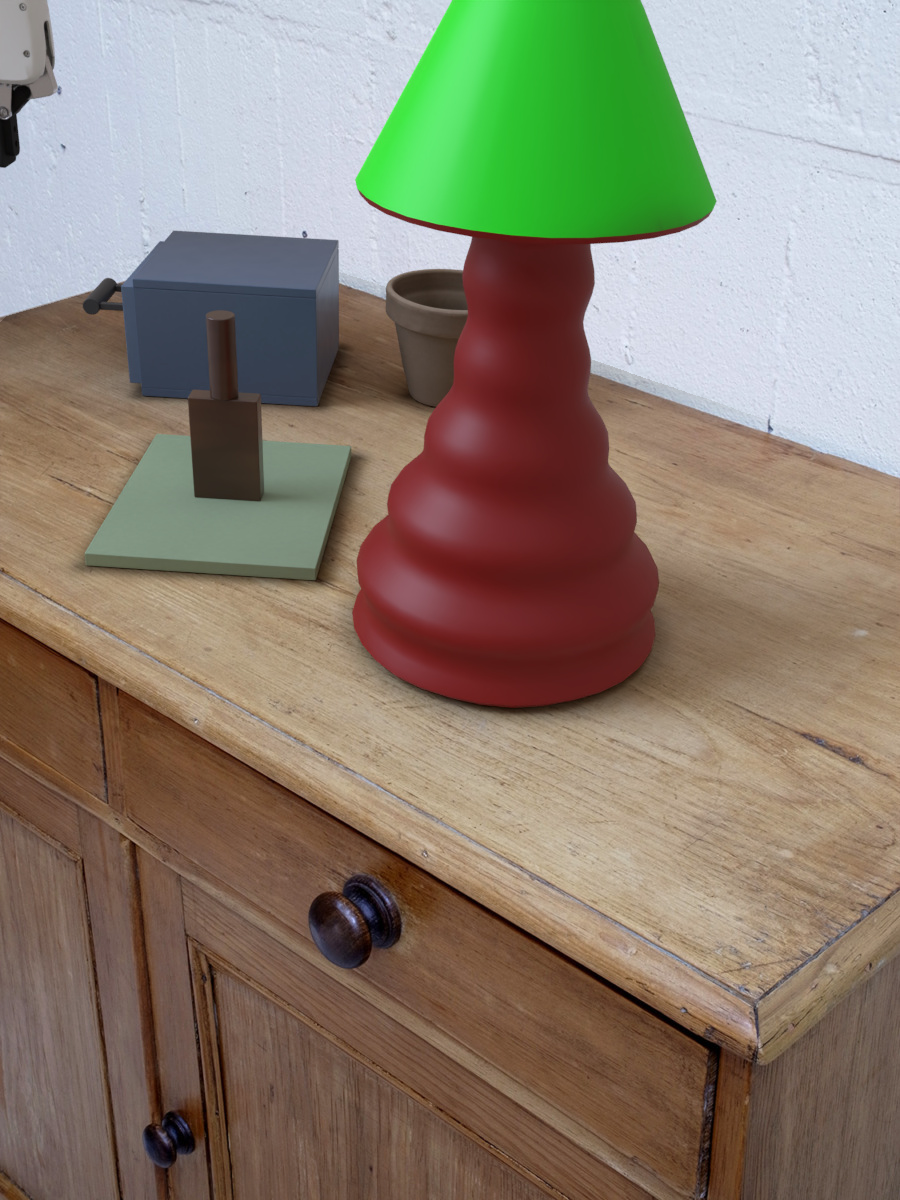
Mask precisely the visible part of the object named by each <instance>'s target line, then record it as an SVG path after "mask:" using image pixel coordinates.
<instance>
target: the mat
mask: <svg viewBox="0 0 900 1200" xmlns="http://www.w3.org/2000/svg"><path fill="white" fill-rule="evenodd" d="M262 441H263V469H264V494H263V496H262V499H261V501H247V500H232V499H216V498H201V497H195V496H194V483H193V469H192V454H191V439H190V435H185V434H184V435H183V434H181V435H180V434H169V433H167V434H166V433H156V434H155V436H154V437H153V439H152V440H151V443H150V444H149V445H148V447H147V449H146V451H145V452H144V453H143V456H142V457H141V459H140V461H139V463H138V464H137V466H136V467H135V469H134V470H133V472H132V474H131V476H130V477H129V479H128V480H127V482H126V483H125V486H124V487H123V489H122V491H121V492H120V493H119V495H118V497H117V499H116V500H115V502H114V504H113V505H112V507H111V508H110V510H109V512H108V514H107V515H106V517H105V519H104V521H103V522H102V524H101V525H100V526H99V528H98V530H97V532H96V534H95V535H94V537H93V539H92V540H91V542H90V543H89V544H88V546H87V548H86V550H85V552H84V561H85V566H90V567H103V568H104V567H105V568H117V569H119V568H120V569H137V570H150V571H164V572H165V571H166V572H179V573H180V572H181V573H182V572H183V573H197V574H212V575H226V576H227V575H228V576H241V577H242V576H243V577H256V578H257V577H258V578H269V579H270V578H271V579H286V580H287V579H288V580H300V581H301V580H302V581H303V580H304V581H316V580H317V578H318V574H319V570H320V568H321V563H322V560H323V556H324V553H325V551H326V547H327V542H328V539H329V535H330V532H331V530H332V525H333V523H334V519H335V518H334V517H335V515H336V512H337V508H338V504H339V501H340V499H341V498H340V497H341V494H342V491H343V486H344V483H345V480H346V477H347V473H348V471H349V467H350V466H349V465H350V463H351V459H352V446H351V445H342V444H327V443H326V444H325V443H310V442H309V443H308V442H297V441H296V442H293V441H281V440H280V441H279V440H278V441H277V440H264V439H262Z"/></svg>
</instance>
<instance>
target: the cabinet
mask: <svg viewBox="0 0 900 1200" xmlns="http://www.w3.org/2000/svg"><path fill="white" fill-rule="evenodd" d="M163 241H164V242H163V243H162V245H161V246H160V247H159V248H158V249H157V250H156V252H155V253H154V254H153V255H152V256H151V258H150V259H149V260H148V261H147V262H146V263H145V265H144V266H143V267H142V268H141V269H140V270H139V272H138V273H137V274H136V275H135V276H134V278H133V279H132V282H133V287H134V288H133V294H134V306H135V317H136V329H137V340H138V352H139V363H140V375H141V383H140V384H141V385H140V387H141V395H142V396H143V397H154V398H155V397H156V398H158V397H159V398H172V399H173V398H174V399H188V397H189V395H190V393H191V392H192V390H209V391H210V382H209V364H208V347H207V330H206V314H207V313H209V312H211V311H217V310H225V311H230V312H232V313H234V315H235V330H236V351H237V373H238V392H241V393H258V394H261V404H269V405H284V406H285V405H286V406H300V407H301V406H302V407H318V406H319V404H320V400H321V398H322V395H323V392H324V389H325V387H326V384H327V382H328V379H329V376H330V373H331V370H332V367H333V365H334V362H335V360H336V357H337V354H338V352H339V348H340V257H339V256H340V249H339V248H340V241H339V240H338V239H324V238H311V237H310V238H307V237H294V236H293V237H291V236H290V237H289V236H274V235H257V234H242V233H241V234H240V233H224V232H206V231H205V232H204V231H189V230H188V231H187V230H172V232H170V234H169V235H168V236H167V238H165V240H163Z"/></svg>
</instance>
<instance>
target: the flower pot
mask: <svg viewBox="0 0 900 1200" xmlns="http://www.w3.org/2000/svg"><path fill="white" fill-rule="evenodd" d="M462 274H463V269H454V268H453V269H452V268H427V269H426V268H425V269H416V270H411V271H406V272H404V273H400V274H398V275H395V276H393V277H391V279H389V280H388V282H387V283H386V286H385V313H386V315H387V317H388V318H389V319H390V320H391V321H392V322H393V323H394V326H395V327H394V328H395V331H396V337H397V342H398V347H399V348H398V349H399V354H400V359H401V363H402V369H403V372H404V377H405V381H406V386H407V389H408V393H409V395H410V396H411V398H413V399H414V400H415V401H417V402H419V403H421V404H423V405H426V406H430V407H432V408H433V407H434V408H436V407H437V405H438V404H439V403H440V402H441V401H442V399H443V398H444V397H445V396H446V395H447V393H448V392H449V391H450V389H451V387H452V386H453V382H454V353H455V349H456V346H457V342H458V339H459V337H460V335H461V333H462V331H463V328H464V326H465V323H466V321H467V317H468V305H467V301H466V296H465V292H464V287H463V278H462Z"/></svg>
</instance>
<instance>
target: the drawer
mask: <svg viewBox="0 0 900 1200" xmlns="http://www.w3.org/2000/svg"><path fill="white" fill-rule="evenodd" d="M164 241H165V240H160V241H158V242H157V244H156V245H155V246H154V247H153V249H151V251H150V252H149V253H148V254H147V255H146V257H144V259H143V260H142V261H141V263H139V265H138V266H137V267H136V268H135V270H133V271H132V273H131V274H130V275H129V276H128V278H127V279H126V280H125V281H124V282H123V283H117V281H116V280H115V279H113V278H112V277H105V278H104V279H103V280H102V281H100V283H99V284H98V285H97V286H96V287H95V288H94V289H93V291H92V292H91V293H90V294H89V295H88V296H87V297H86V298H85V299H84V301H83V302H82V309H83V311H84V312H85V313H86V314H88V315H90V316H94V315H96V314H98V313H99V312H100V311H101V310H102V311H116V312H123V322H124V323H123V324H124V333H125V334H124V335H125V346H126V356H127V366H128V367H127V368H128V378H129V383H130V384H141V375H140V363H139V352H138V340H137V329H136V317H135V306H134V294H133V288H134V287H133V282H132V279H133V278H134V276H135V275H136V274H137V273H138V272H139V270H140V269H141V268H142V267H143V266H144V265H145V263H146V262H147V261H148V260H149V259H150V258H151V256H152V255H153V254H154V253H155V252H156V250H157V249H158V248H159V247H160V246H161V245H162V243H163V242H164ZM116 293H121V302H117V301H115V302H114V301H110V299H111V298H112V297H113V295H115V294H116Z"/></svg>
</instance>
